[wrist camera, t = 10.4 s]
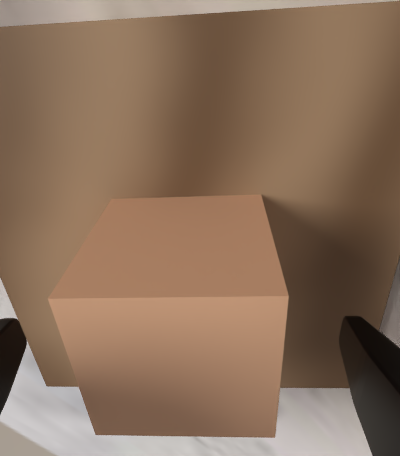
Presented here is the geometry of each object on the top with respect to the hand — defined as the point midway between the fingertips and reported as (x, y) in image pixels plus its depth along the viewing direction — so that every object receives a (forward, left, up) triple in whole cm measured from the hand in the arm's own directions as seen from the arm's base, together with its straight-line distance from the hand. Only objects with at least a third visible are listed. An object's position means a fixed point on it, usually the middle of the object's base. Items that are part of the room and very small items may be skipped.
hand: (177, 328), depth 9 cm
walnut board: (0, 0, -5) cm, 5 cm away
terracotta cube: (0, 0, -4) cm, 4 cm away
